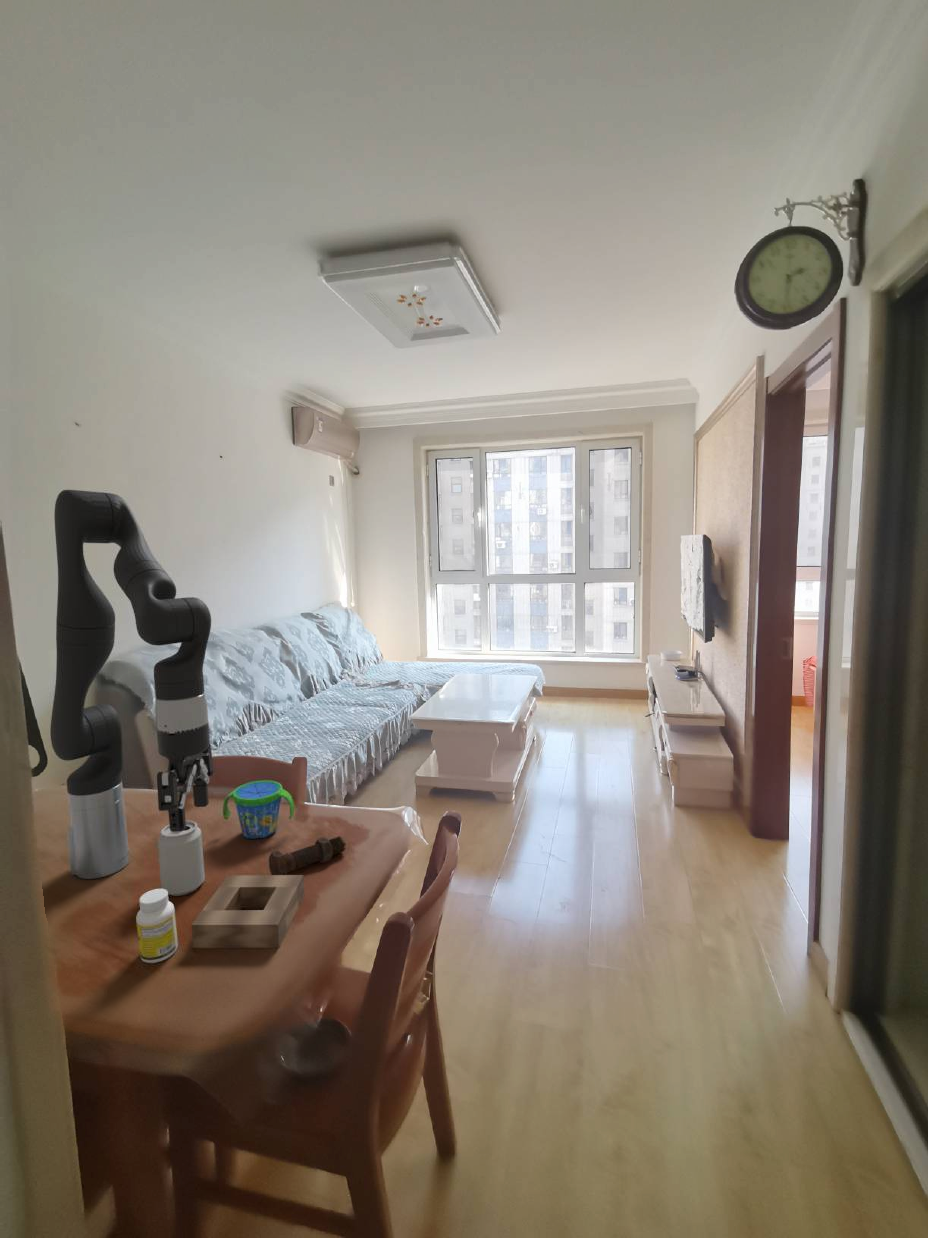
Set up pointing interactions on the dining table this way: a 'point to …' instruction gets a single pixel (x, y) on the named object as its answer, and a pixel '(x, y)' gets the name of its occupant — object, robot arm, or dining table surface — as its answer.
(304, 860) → the bolt
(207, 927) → the socket block
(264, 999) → the dining table surface
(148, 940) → the supplement bottle
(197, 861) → the can
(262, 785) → the snack cup
